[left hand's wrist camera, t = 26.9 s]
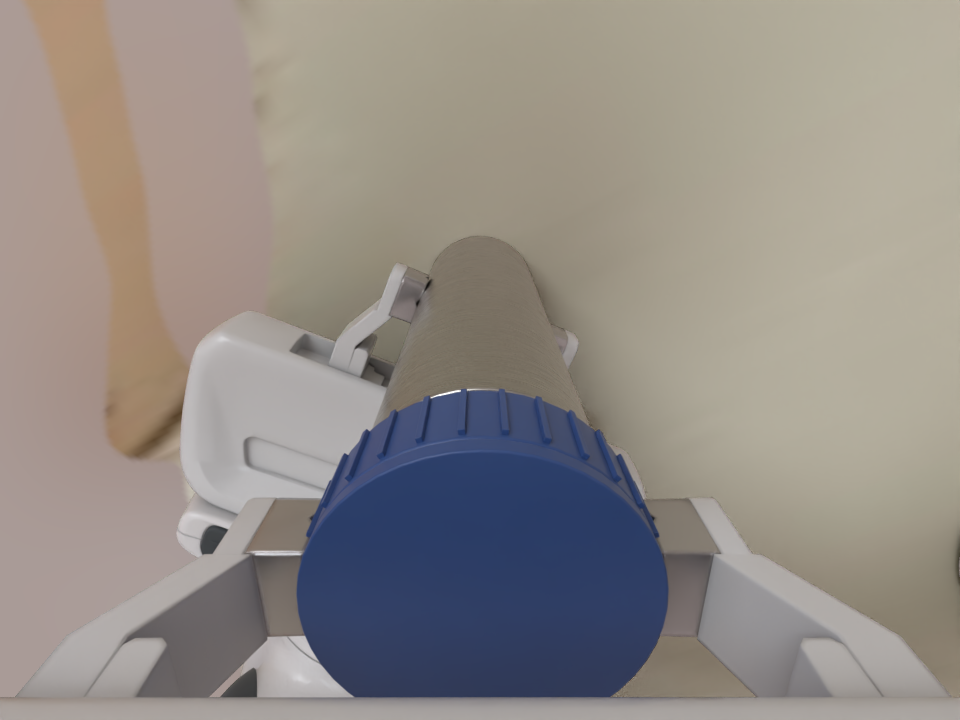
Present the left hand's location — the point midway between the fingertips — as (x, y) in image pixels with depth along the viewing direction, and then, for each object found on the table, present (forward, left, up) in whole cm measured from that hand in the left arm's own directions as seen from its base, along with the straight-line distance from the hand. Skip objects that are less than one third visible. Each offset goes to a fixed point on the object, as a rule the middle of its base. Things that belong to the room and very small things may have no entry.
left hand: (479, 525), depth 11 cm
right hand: (-1, +1, -13) cm, 13 cm away
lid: (0, 0, +2) cm, 2 cm away
